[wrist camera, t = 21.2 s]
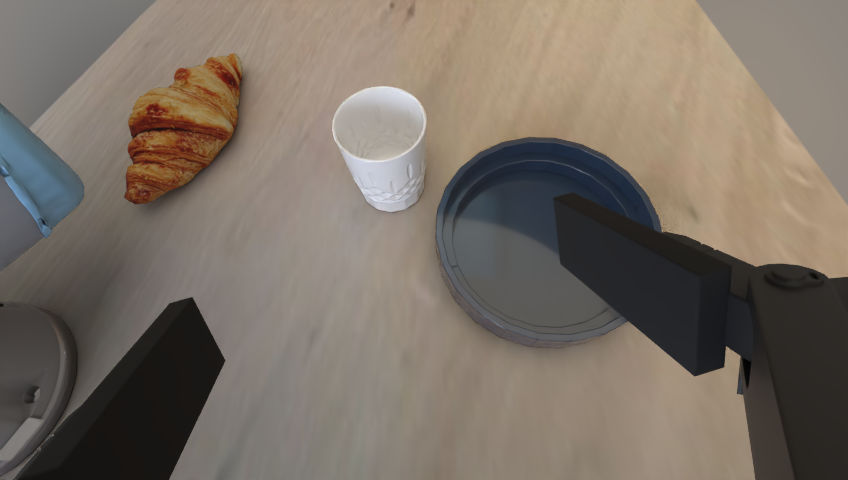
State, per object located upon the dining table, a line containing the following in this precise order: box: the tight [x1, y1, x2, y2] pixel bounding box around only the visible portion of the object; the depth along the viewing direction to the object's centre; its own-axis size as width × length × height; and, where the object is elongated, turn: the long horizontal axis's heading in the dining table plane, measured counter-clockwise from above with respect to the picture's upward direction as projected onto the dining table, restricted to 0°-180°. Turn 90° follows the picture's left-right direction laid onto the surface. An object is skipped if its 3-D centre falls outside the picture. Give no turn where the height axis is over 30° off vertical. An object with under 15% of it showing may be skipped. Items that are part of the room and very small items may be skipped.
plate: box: [436, 137, 662, 348], centre depth 37 cm, size 20×20×4 cm
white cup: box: [332, 86, 427, 212], centre depth 38 cm, size 8×8×10 cm
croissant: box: [124, 53, 242, 204], centre depth 43 cm, size 21×10×8 cm, turn 163°
